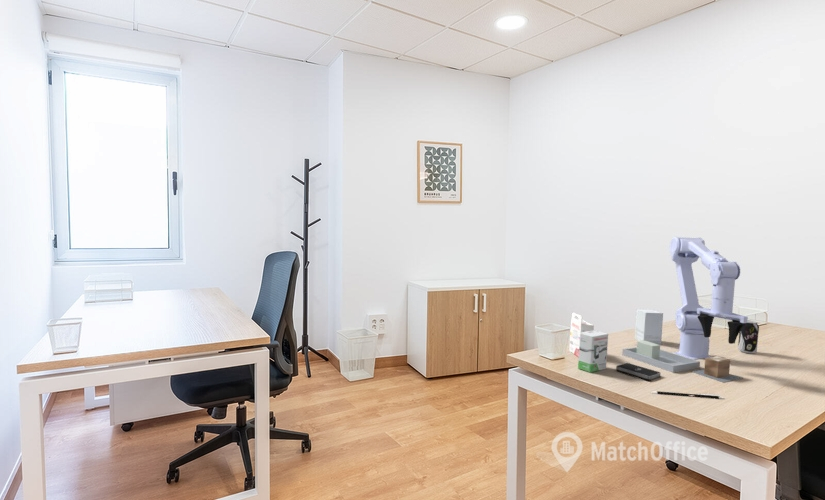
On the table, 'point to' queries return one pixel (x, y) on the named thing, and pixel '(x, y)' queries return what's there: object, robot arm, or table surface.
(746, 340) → the beverage can
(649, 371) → the external hard drive
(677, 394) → the pen
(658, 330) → the supplement box
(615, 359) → the table surface
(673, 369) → the grey bin
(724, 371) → the labelled block
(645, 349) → the sage block
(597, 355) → the ink box
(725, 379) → the slate mat
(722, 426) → the table surface
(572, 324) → the ink cartridge box
